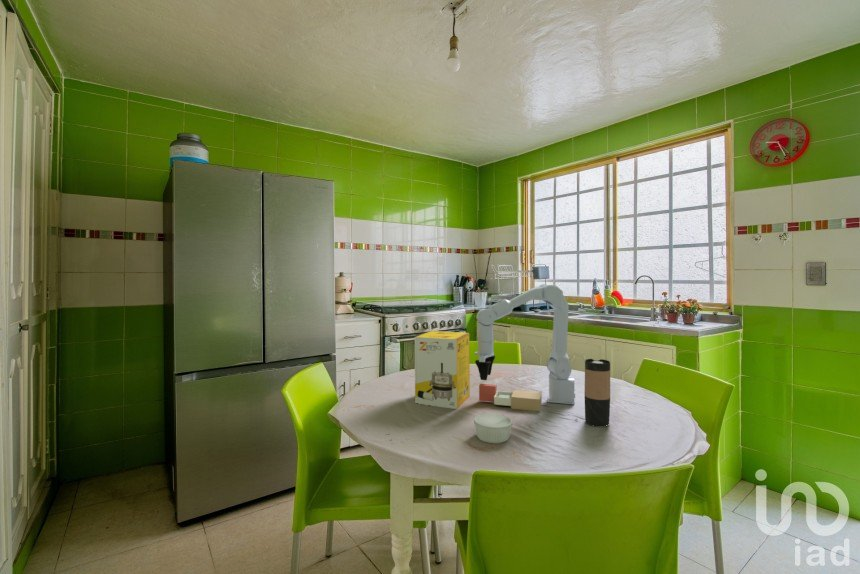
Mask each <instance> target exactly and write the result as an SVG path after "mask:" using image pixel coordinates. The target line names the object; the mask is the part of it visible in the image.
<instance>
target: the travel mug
mask: <svg viewBox="0 0 860 574" xmlns="http://www.w3.org/2000/svg"><path fill="white" fill-rule="evenodd" d="M610 409H611V361H610V360H607V359H599V360H595V359H593V358H587V359H585V360H584V421H585V423H586V424H587V425H589V424H590V425H589V426H592V425H594V426H593V427H596V426H606V425H608V424H609V425H610V416H611V415H610V413H611V411H610ZM609 425H608V426H609ZM606 427H607V426H606Z"/></svg>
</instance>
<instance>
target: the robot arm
mask: <svg viewBox="0 0 860 574" xmlns="http://www.w3.org/2000/svg"><path fill="white" fill-rule="evenodd" d="M533 300H534V301H536V300H537V301H542V302H544V303H546V304H548V305H549V306H550V307H551V308H552V309H553V321H552V323H553V324H552V342H551V343H552V346H551V351H550V353H549V357H548V360H547V362H546V367H547V370H548V372H549V374H548V395H547V403H555V404H565V405H575V399H576V393H575V378H574V377H570V376H571V374H572V367H571V365H570V358H569V355H568V352H567V349H568V329H569V328H568V327H569V312H570V310H569V309H570V308H569V306H570V305H569V303H568V301H567V299H566V298H565V295H564V292H563V289H561V288H559V287H558V286H557V285H555V284H546V283H544V284H543V283H542V284H540V285H538V286H535V287H532V288H530V289H528V290H526V291H525V292H523V293H521V294H519V295H516V296H515V297H513V298H511V299H509V300H508V299H506V298H504V299H501V298H500V299H498V300H497V302H495V303H494V304H492V305H489V304H488V305H486V308H481V309H479V310H478V312H477V313H476V316H475V317H476V318H475V319H476V320H477V351H475V352H474V355H477V356H478V359H476V360H474V361H475V362H474V363H475V365H476V367H477V369H478V373H479V374H478V375H479V378H480V380H482V381H487V380H488V376H491V373H492V368H493V365H494V361H495V359H496V355H495V353H494V322H495V321H498V320H499V319H501V318H503V317H506V316H509V315H510V314H512V312H513V310H514V308H518V307H519V306H521V305H523V304H526V303H529V302H531V301H533Z"/></svg>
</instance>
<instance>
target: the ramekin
mask: <svg viewBox="0 0 860 574" xmlns="http://www.w3.org/2000/svg"><path fill="white" fill-rule="evenodd" d="M473 423H474V428H475V435H476V437H477V438H478V440H480V441H481V442H484V443H489V444H501V443H504V442H506V441H508V440H509V438H510V435H511V430H512V426H513V420H512V419H511V418H510V417H509V416H507V415H504V414H499V413H482V414H478V415H476V416H475V417H474V419H473Z"/></svg>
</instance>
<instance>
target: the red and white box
mask: <svg viewBox="0 0 860 574" xmlns="http://www.w3.org/2000/svg"><path fill="white" fill-rule="evenodd" d="M512 394H513V391H506V390H505V391H503V390H497V384H492V383H491V384H490V383H479V386H478V401H479V402H490V403H493V405H497V406H505V407H506V406H507V407H511V396H512Z"/></svg>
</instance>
